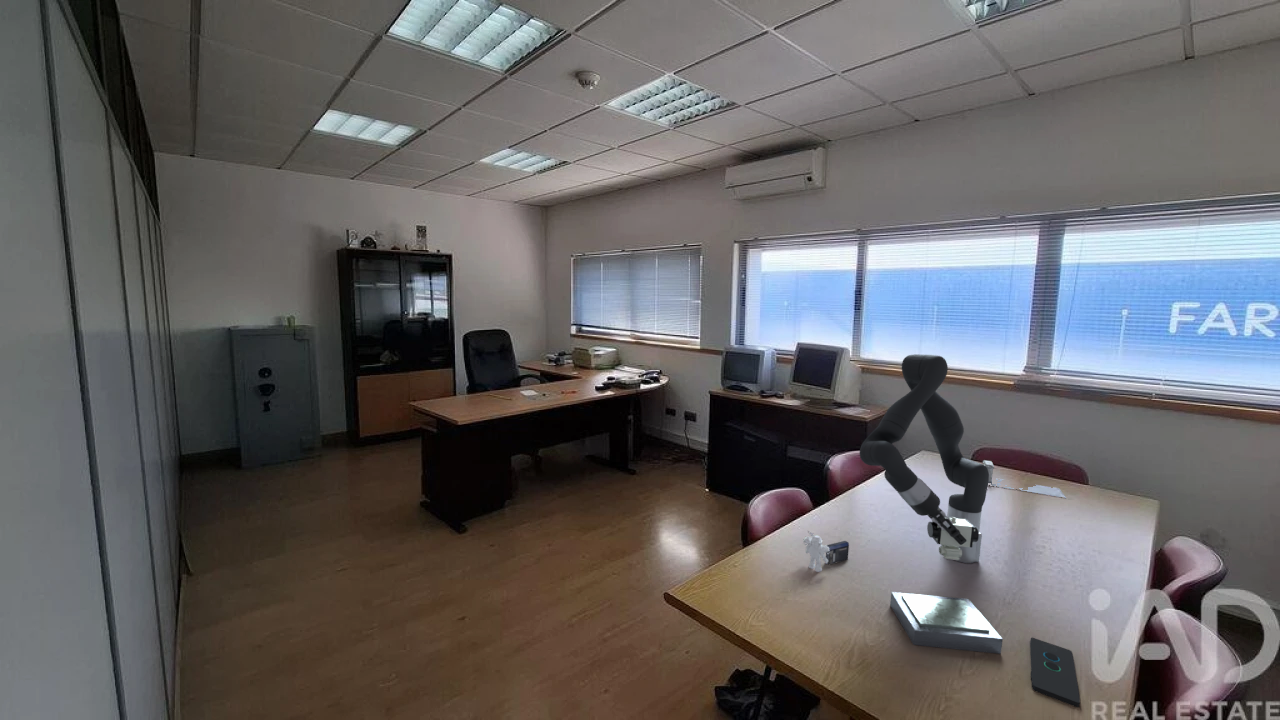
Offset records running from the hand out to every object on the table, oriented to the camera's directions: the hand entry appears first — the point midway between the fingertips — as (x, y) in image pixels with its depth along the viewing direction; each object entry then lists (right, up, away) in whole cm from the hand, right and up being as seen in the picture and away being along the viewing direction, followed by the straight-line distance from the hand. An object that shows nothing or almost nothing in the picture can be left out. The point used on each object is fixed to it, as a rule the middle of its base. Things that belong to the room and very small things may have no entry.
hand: (958, 537), depth 141 cm
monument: (+84, -8, +88) cm, 121 cm away
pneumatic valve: (-2, -6, +1) cm, 7 cm away
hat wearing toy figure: (-36, -16, +15) cm, 42 cm away
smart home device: (+5, -22, -27) cm, 35 cm away
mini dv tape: (-27, -15, +20) cm, 37 cm away
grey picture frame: (-12, -19, -12) cm, 26 cm away
